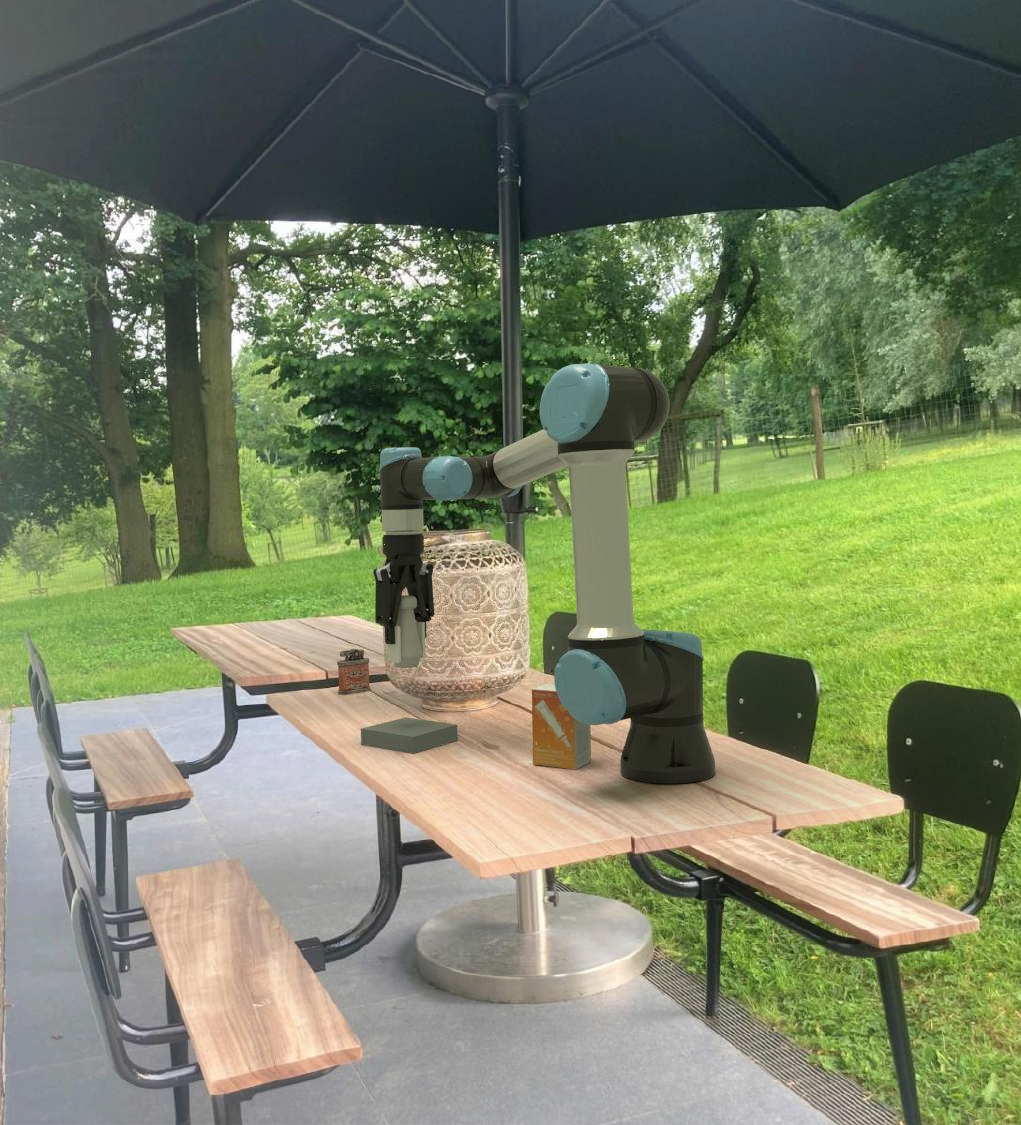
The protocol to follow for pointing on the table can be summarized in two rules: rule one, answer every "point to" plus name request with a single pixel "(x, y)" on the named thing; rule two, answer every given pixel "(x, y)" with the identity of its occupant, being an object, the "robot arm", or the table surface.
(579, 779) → the table surface
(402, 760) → the table surface
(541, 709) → the small box
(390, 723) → the block
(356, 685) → the lighter
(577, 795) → the table surface
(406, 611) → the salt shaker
